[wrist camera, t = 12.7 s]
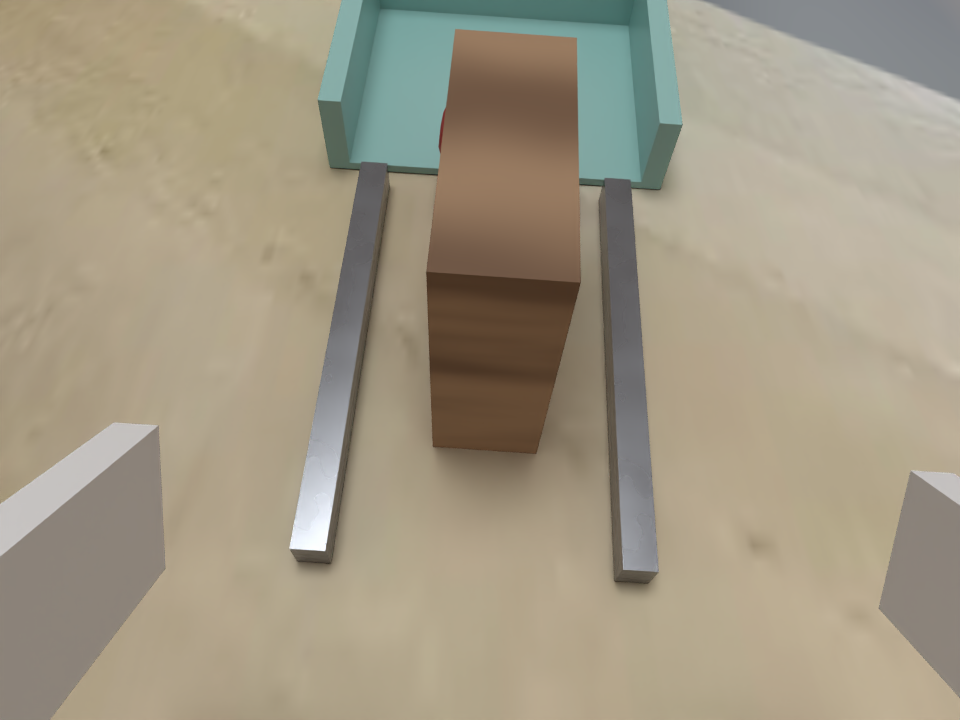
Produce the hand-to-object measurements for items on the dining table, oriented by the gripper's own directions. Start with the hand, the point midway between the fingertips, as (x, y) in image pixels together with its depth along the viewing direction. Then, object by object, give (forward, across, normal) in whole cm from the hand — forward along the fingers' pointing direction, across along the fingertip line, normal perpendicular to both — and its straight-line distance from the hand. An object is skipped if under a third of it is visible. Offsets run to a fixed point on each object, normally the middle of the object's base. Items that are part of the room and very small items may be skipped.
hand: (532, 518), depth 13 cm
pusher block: (+18, 0, -1) cm, 19 cm away
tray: (+29, 0, +10) cm, 31 cm away
